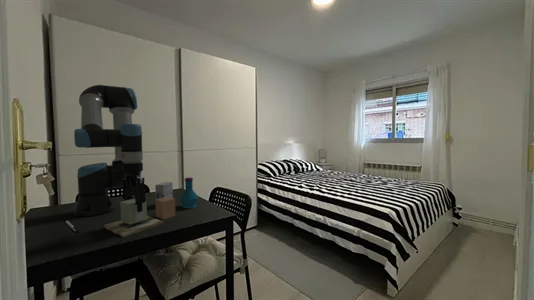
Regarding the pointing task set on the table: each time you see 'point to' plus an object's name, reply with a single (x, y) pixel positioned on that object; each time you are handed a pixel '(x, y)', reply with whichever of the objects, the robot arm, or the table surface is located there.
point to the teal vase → (189, 195)
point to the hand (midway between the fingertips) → (134, 217)
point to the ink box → (164, 190)
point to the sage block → (131, 211)
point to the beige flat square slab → (132, 226)
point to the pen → (72, 226)
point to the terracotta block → (165, 207)
